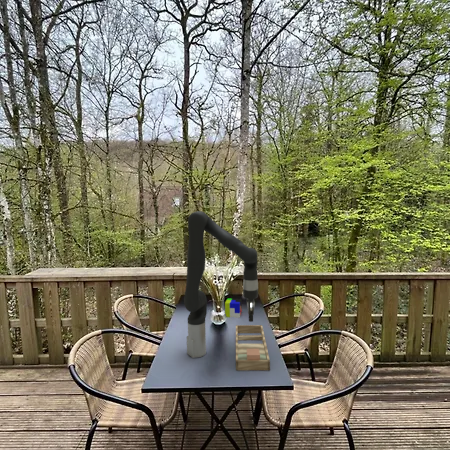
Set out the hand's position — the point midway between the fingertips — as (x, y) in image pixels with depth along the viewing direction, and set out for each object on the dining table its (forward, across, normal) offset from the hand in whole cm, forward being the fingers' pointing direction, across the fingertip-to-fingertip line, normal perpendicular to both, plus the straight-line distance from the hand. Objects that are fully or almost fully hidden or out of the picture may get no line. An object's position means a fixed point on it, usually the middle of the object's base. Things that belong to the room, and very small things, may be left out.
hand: (250, 320), depth 150 cm
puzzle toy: (+19, +56, +10) cm, 60 cm away
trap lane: (+19, +8, 0) cm, 20 cm away
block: (+17, -8, -1) cm, 19 cm away
